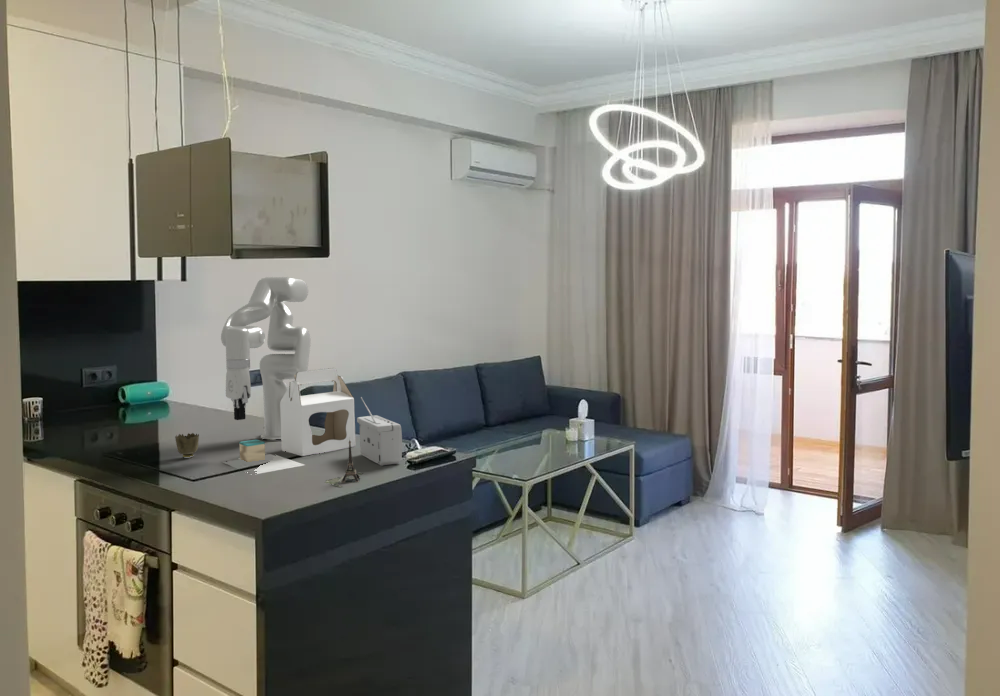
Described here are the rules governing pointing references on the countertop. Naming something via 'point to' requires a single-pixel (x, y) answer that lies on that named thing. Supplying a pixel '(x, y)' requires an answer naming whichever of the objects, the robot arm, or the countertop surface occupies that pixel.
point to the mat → (277, 465)
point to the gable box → (302, 407)
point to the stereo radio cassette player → (380, 439)
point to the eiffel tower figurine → (346, 473)
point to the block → (252, 450)
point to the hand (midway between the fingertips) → (239, 419)
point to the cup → (187, 444)
